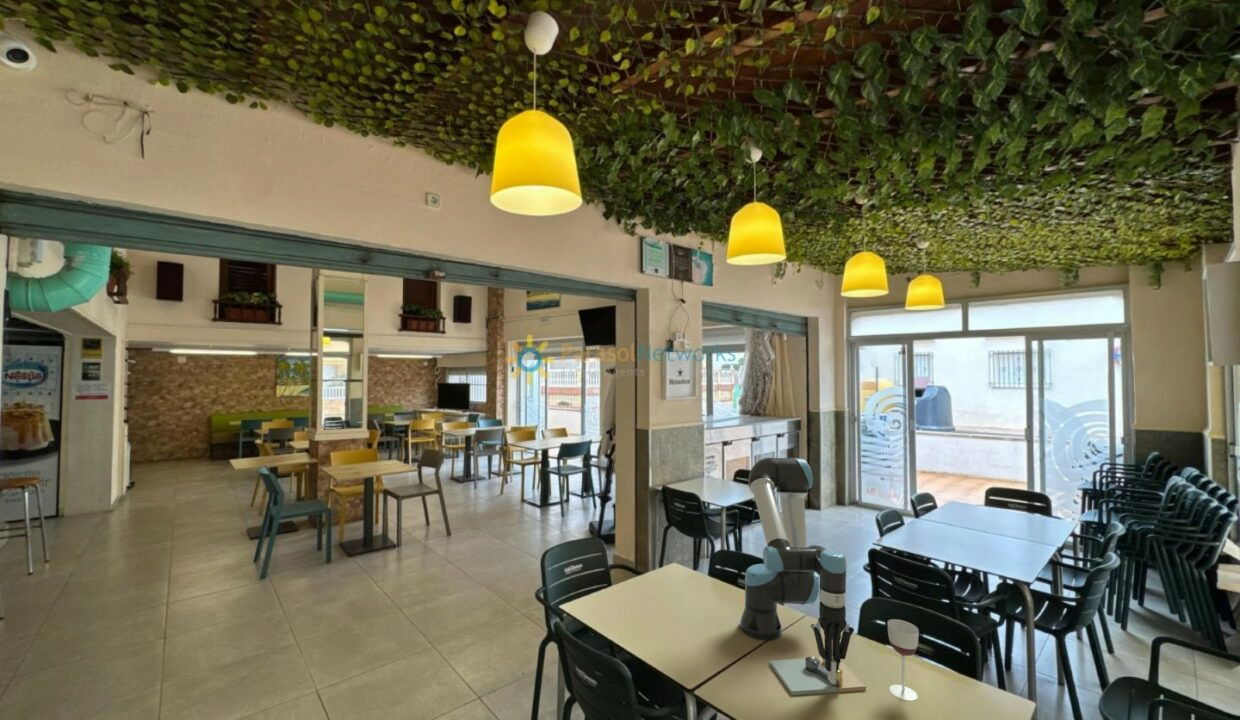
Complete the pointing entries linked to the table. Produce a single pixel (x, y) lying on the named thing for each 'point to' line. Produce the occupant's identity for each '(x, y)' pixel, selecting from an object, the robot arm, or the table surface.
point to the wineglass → (903, 652)
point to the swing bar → (822, 670)
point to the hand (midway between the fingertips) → (831, 681)
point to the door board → (812, 678)
